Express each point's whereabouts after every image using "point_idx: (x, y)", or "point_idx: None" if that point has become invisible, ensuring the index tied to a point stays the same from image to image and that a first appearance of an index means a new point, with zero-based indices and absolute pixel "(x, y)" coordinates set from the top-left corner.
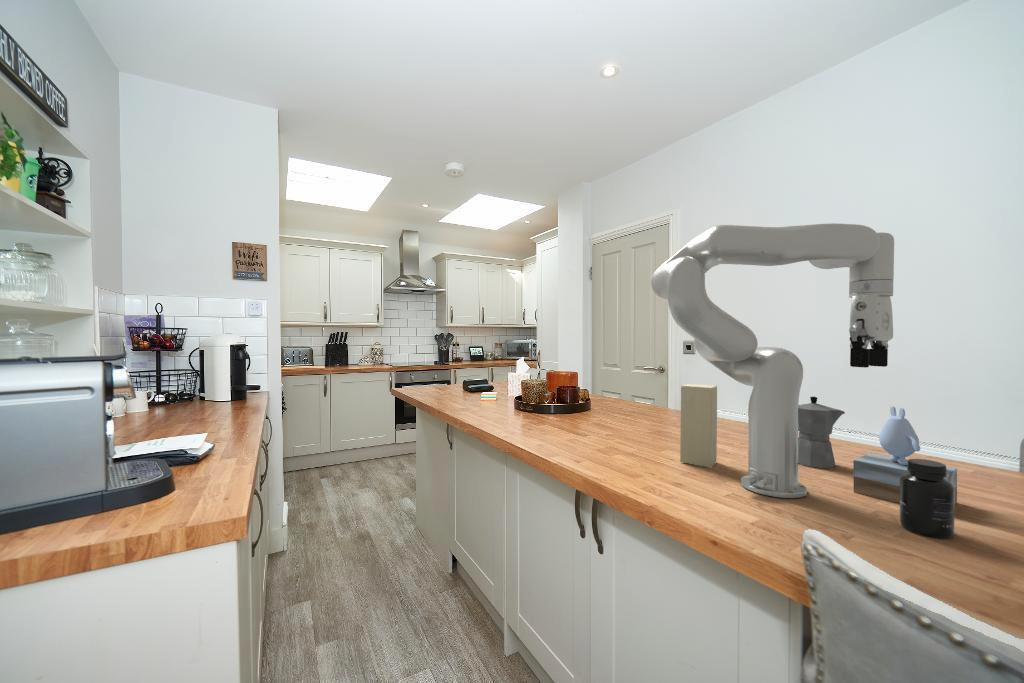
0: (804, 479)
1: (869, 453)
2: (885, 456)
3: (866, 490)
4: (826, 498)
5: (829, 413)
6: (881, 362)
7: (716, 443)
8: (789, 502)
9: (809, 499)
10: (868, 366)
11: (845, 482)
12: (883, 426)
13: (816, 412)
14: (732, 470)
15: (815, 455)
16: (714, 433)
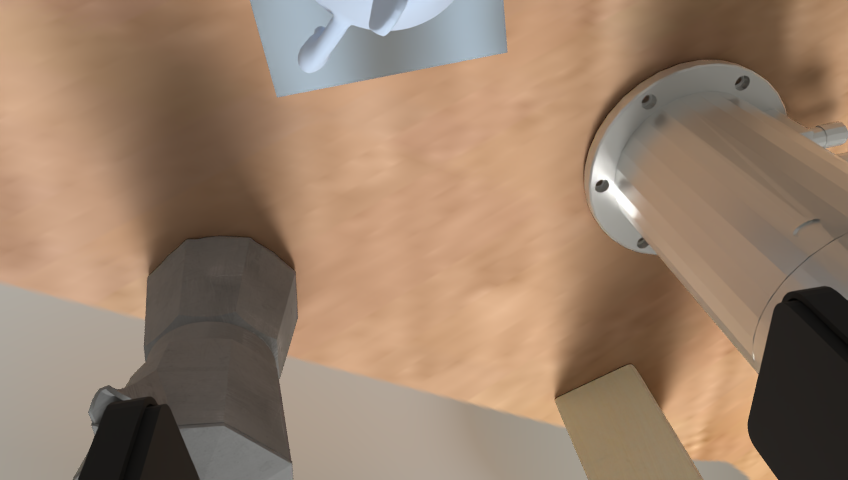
0: (477, 182)
1: (289, 93)
2: (275, 23)
3: None
4: (636, 19)
5: (196, 413)
6: (170, 475)
7: (580, 450)
8: (779, 50)
9: (695, 39)
10: (807, 290)
11: (368, 100)
12: (443, 9)
13: (267, 438)
14: (596, 326)
15: (273, 290)
16: (632, 472)
